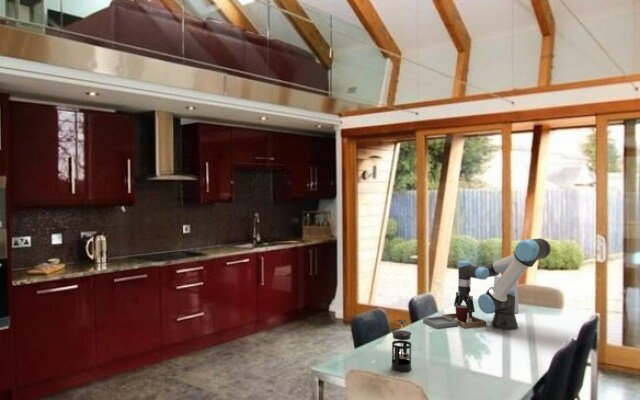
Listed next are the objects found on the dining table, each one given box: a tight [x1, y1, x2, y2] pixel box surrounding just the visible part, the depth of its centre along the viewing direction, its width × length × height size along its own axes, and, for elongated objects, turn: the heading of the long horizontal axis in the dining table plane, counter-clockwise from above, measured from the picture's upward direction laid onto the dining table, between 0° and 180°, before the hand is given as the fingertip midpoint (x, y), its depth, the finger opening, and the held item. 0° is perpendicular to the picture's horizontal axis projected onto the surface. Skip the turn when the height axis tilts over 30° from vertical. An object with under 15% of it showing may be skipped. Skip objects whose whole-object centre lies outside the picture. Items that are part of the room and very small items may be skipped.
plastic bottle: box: [493, 271, 520, 315], centre depth 346 cm, size 15×15×28 cm
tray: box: [422, 315, 459, 330], centre depth 311 cm, size 15×15×3 cm
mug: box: [455, 304, 468, 323], centre depth 316 cm, size 10×8×10 cm
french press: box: [390, 318, 413, 373], centre depth 235 cm, size 12×9×23 cm
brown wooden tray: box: [441, 312, 487, 330], centre depth 317 cm, size 23×16×3 cm
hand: (463, 320), depth 317 cm, fingers closed on mug, 10 cm apart
